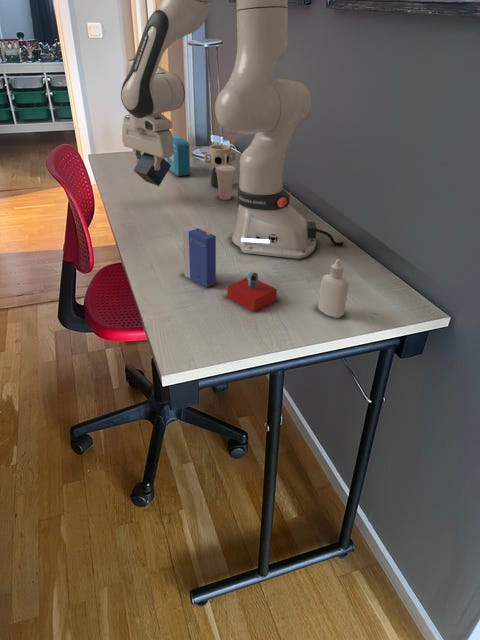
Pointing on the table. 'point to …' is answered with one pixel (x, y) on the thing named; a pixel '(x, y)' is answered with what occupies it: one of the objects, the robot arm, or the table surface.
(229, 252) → the table surface
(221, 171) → the smoothie
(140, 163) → the bin
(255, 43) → the robot arm
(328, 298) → the eye dropper bottle
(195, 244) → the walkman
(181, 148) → the data package
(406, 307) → the table surface
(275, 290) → the red slab
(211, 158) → the character mug
